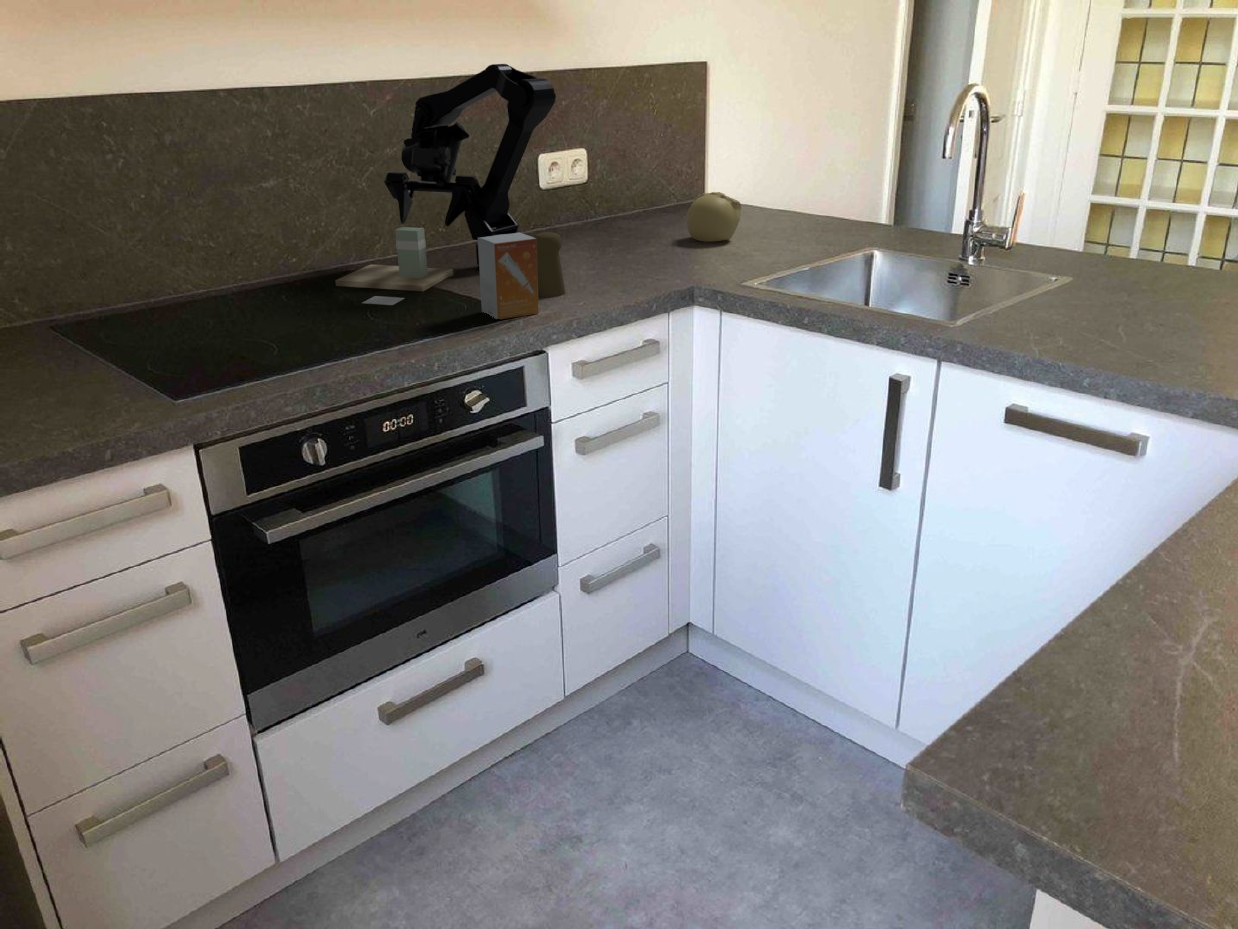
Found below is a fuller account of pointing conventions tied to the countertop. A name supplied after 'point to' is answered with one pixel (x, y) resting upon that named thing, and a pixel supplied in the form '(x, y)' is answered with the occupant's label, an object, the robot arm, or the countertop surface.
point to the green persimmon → (713, 217)
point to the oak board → (392, 278)
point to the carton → (411, 252)
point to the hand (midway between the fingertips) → (424, 223)
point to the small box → (508, 275)
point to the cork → (549, 265)
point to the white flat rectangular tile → (383, 300)
